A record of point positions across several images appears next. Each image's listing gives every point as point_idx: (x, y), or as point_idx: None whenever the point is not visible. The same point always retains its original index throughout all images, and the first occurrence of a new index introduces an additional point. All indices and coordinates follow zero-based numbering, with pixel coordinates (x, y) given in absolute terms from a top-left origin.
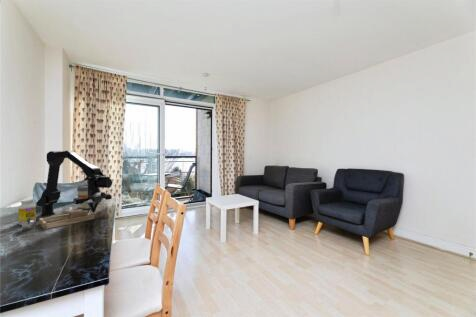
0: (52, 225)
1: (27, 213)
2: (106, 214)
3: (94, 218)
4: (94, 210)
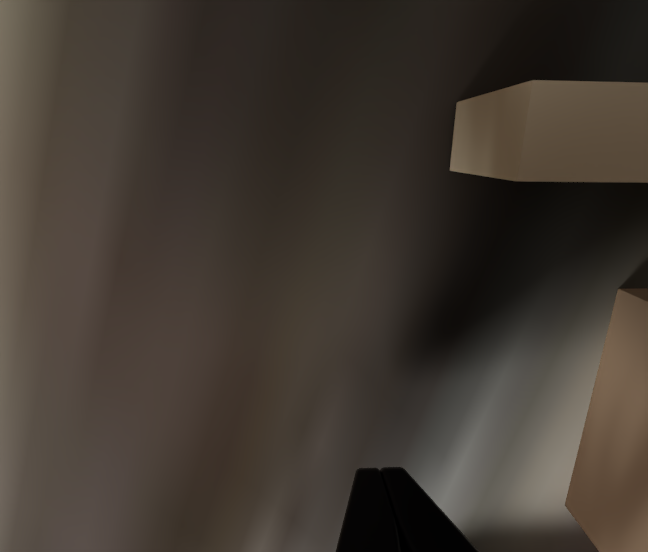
0: None
1: None
2: (60, 310)
3: (460, 101)
4: (376, 522)
